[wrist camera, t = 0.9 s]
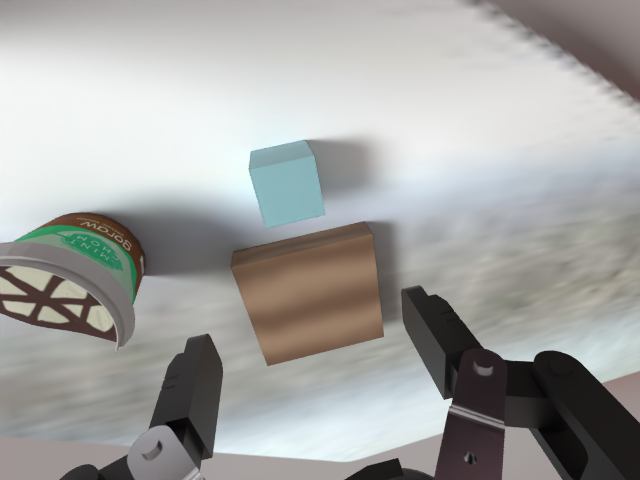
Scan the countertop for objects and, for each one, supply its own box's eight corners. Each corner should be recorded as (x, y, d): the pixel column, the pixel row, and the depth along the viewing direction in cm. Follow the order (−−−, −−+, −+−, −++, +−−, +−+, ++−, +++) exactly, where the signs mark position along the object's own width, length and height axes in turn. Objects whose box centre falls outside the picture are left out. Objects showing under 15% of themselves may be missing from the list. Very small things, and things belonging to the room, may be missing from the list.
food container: (179, 233, 32) (149, 295, 23) (158, 280, 34) (122, 354, 26) (32, 175, 28) (-73, 226, 19) (17, 234, 30) (-83, 304, 21)
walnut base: (233, 251, 34) (230, 267, 31) (364, 221, 35) (372, 234, 32) (267, 346, 41) (267, 366, 38) (376, 319, 42) (383, 336, 39)
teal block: (250, 151, 30) (248, 169, 24) (304, 139, 30) (314, 155, 25) (264, 202, 32) (265, 228, 27) (314, 190, 32) (325, 214, 27)
